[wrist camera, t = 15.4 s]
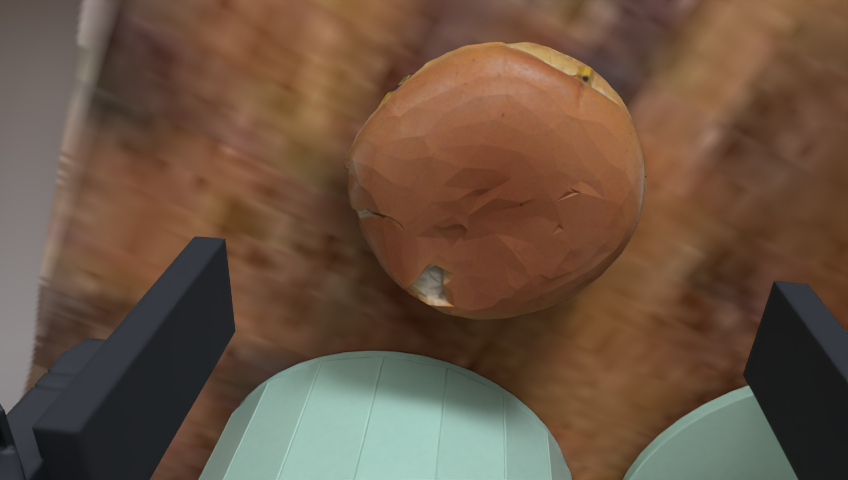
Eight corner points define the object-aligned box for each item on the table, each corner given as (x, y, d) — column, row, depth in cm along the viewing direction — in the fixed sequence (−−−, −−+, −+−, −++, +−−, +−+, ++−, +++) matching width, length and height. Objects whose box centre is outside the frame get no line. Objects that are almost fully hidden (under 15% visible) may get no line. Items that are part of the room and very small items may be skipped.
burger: (677, 76, 22) (716, 119, 18) (577, 300, 27) (590, 374, 23) (392, -6, 22) (367, 18, 18) (339, 233, 27) (309, 297, 22)
